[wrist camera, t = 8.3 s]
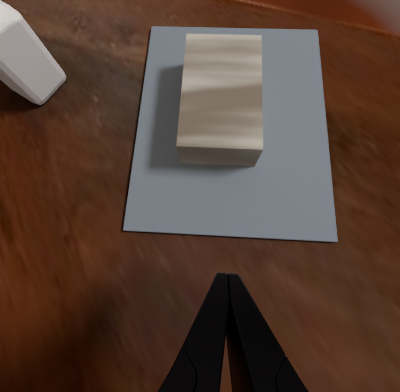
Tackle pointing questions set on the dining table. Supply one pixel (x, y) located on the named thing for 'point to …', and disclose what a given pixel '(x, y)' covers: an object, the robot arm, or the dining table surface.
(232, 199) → the mat
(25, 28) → the pepper shaker
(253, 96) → the beige streaked block
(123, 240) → the dining table surface
